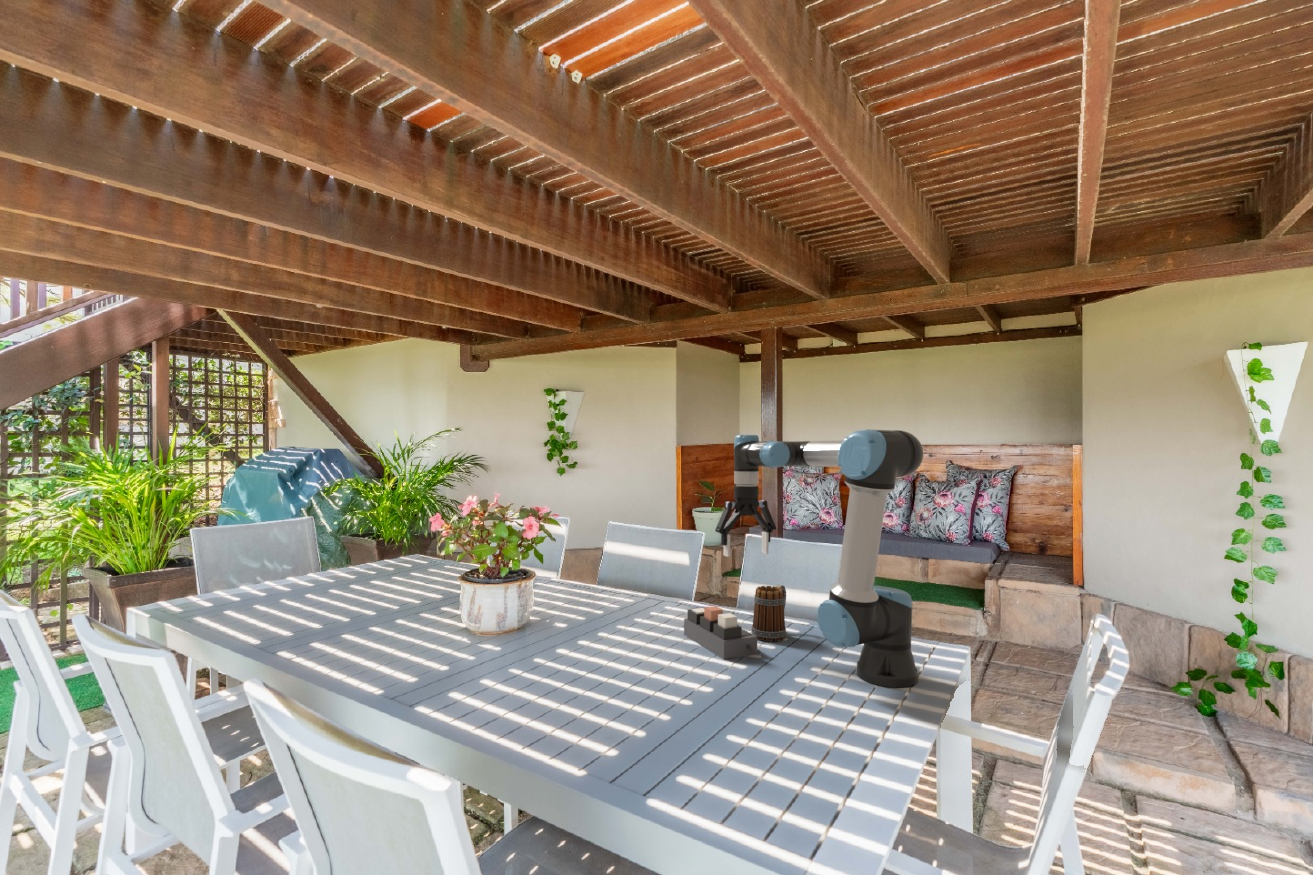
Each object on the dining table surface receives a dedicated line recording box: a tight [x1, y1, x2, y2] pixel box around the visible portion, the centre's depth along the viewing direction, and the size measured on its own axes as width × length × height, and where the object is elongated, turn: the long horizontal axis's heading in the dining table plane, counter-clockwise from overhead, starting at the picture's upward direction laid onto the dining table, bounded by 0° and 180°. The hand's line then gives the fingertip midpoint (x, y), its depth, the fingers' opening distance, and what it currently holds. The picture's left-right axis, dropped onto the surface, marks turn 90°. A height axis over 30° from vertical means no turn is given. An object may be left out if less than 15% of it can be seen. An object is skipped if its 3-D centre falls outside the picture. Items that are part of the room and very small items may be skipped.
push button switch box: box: [683, 608, 762, 660], centre depth 192 cm, size 30×11×8 cm, turn 25°
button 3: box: [691, 607, 705, 614], centre depth 201 cm, size 4×4×3 cm
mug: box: [751, 584, 787, 643], centre depth 204 cm, size 16×11×15 cm
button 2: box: [703, 606, 724, 621], centre depth 194 cm, size 4×4×3 cm
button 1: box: [718, 612, 738, 628], centre depth 187 cm, size 4×4×3 cm
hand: (746, 554), depth 200 cm, fingers open, 13 cm apart
